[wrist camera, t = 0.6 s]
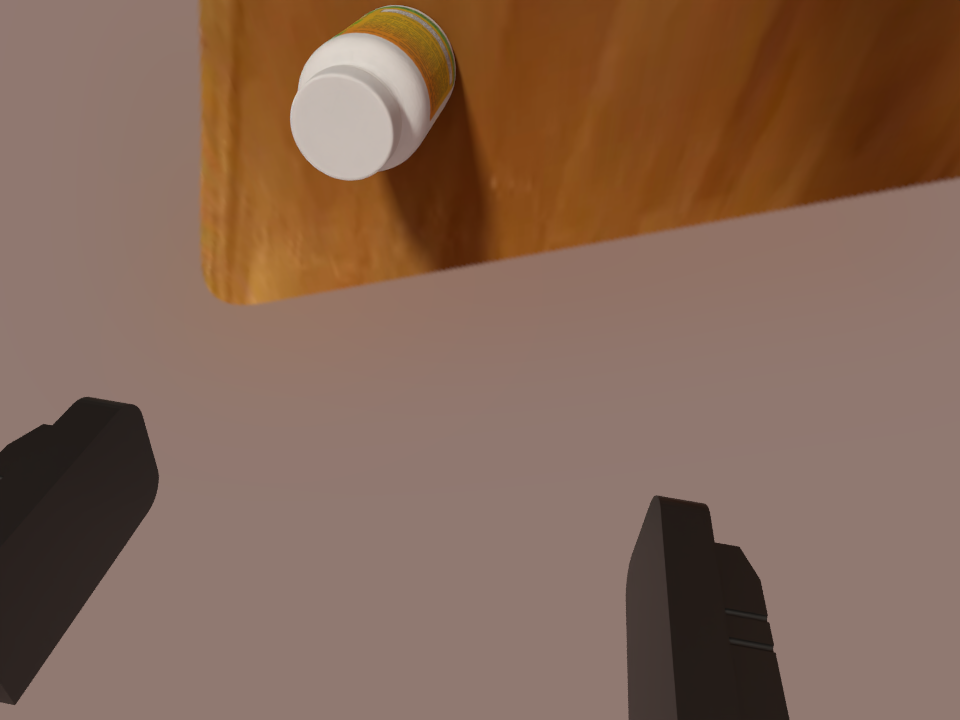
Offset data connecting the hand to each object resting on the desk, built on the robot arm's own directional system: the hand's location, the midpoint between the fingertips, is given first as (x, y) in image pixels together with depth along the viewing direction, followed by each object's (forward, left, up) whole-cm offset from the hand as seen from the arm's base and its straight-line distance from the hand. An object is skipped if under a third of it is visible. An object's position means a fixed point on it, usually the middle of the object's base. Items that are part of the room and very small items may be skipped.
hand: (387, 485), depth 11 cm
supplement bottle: (+2, -6, -27) cm, 28 cm away
